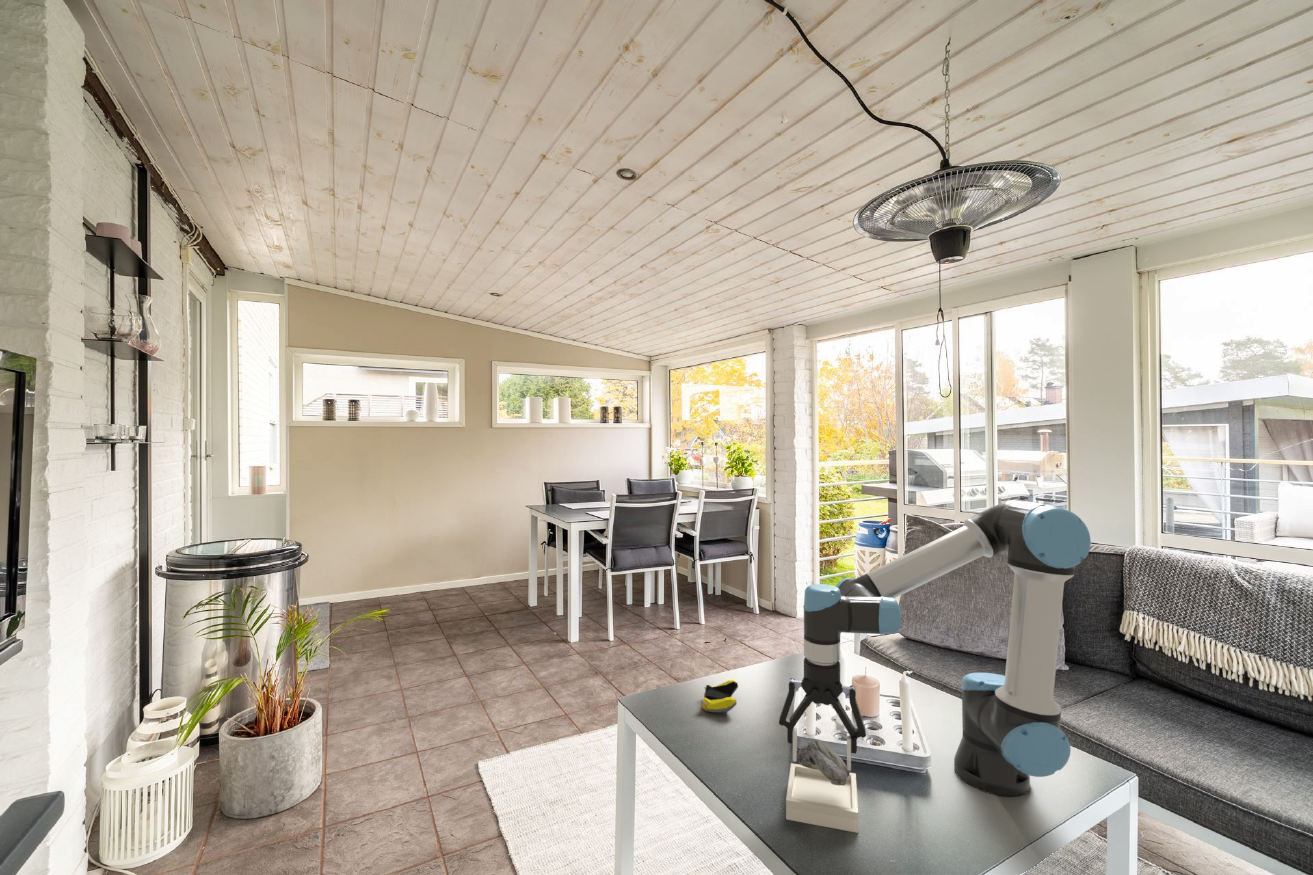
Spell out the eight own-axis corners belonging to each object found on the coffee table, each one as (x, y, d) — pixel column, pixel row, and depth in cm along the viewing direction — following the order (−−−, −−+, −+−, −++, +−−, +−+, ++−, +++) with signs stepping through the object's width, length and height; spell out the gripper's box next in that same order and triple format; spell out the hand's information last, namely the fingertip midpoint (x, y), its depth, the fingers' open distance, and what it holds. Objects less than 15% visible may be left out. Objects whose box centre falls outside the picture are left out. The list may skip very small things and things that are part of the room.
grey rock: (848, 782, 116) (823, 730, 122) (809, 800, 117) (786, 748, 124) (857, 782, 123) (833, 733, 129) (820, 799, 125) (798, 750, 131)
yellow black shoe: (738, 696, 176) (705, 693, 178) (738, 678, 176) (705, 675, 178) (736, 720, 161) (700, 717, 163) (736, 700, 161) (700, 697, 163)
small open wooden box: (855, 791, 128) (855, 773, 128) (858, 832, 115) (858, 812, 115) (791, 780, 132) (791, 763, 132) (786, 819, 119) (786, 799, 119)
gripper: (877, 658, 124) (877, 762, 124) (769, 646, 131) (769, 744, 131) (880, 672, 117) (880, 782, 117) (765, 659, 123) (765, 762, 123)
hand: (821, 762), depth 124 cm, fingers closed on grey rock, 10 cm apart
